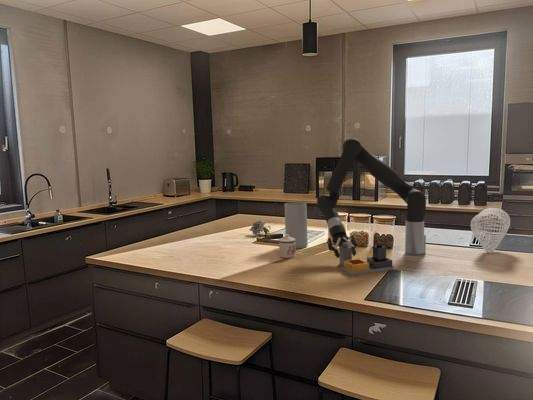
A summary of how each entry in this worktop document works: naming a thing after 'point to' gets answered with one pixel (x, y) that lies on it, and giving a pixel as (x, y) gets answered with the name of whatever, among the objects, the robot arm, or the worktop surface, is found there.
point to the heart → (499, 238)
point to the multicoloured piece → (369, 262)
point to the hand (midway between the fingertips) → (346, 256)
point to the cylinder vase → (296, 223)
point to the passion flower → (259, 228)
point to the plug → (345, 253)
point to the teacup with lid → (287, 247)
